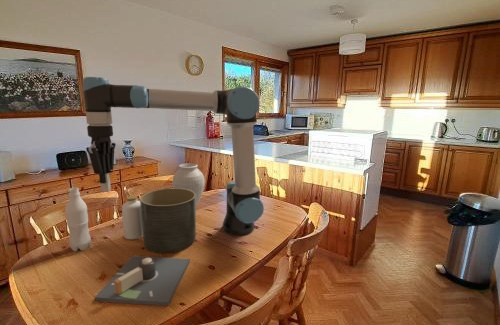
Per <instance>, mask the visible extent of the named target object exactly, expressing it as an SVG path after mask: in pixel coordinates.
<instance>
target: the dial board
mask: <svg viewBox="0 0 500 325" xmlns="http://www.w3.org/2000/svg"><path fill="white" fill-rule="evenodd" d="M145 258H152V259H154V260H155V268H156V275H155V276H154V277H153V278H152V279H149V280H142V281H140V282H138V283H137V284H135V285H134V286H132V287H130V288H129V289H127V290H125V291H124V292H122V293H121V294H117V293H116V292H115V284H114V280H116V279H118V278H119V277H121V276H123V275H125V274H127V273H128V272H130V271H132V270H134V269H136V268H137V267H139V262H140V261H141V260H143V259H145ZM190 263H191V259H190V258H177V257H175V258H174V257H163V256H162V257H161V256H144V255H143V256H141V255H132V256H131V257H130V258H128V260H127V261H126V262H125V263H124V264H123V265H122V267H121V268H120V269H119V270H117V272H116V273H115V274H114V275H113V277H111V279H110V280H109V281H108V282H107V283H106V284H105V285H104V286H103V287H102V289H101V290H100V291H99V292H98V293H97V294H96V295H95V297H94V301H95V302H105V303H107V302H108V303H120V304H121V303H123V304H133V305H134V304H135V305H149V306H163V305H164V306H166V307H168V306H169V305H170V303H171V301H172V299H173V297H174V295H175V293H176V291H177V289H178V288H179V285H180V283H181V281H182V279H183V277H184V274H185V273H186V271H187V269H188V267H189V265H190ZM164 306H163V307H164Z"/></svg>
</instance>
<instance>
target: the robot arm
mask: <svg viewBox="0 0 500 325" xmlns="http://www.w3.org/2000/svg"><path fill="white" fill-rule="evenodd" d="M82 93H83V100H84V110H85V119H86V124H87V127H86V128H87V130H86V131H87V136H88V137H90V138H91V141H90V144H91V145H90V147H88V146H87V147H86V148H85V150H86V152H87V154H88V156H89V159H90V163H91V167H92V171H93V174H95V175H98V176H99V185H100V191H101V193H102V192H105V193H109V192H111V191H112V186H111V175H110V173H113V170H114V166H115V165H114V164H115V163H114V162H115V149H116V145H117V144H116V143H115V142H112V139H111V137H113V136H114V130H113V128H114V127H113V126H112V124H113V118H112V117H113V116H112V115H113V114H112V108H122V109H123V108H127V109H157V110H158V109H161V110H180V111H182V110H183V111H185V110H187V111H203V112H204V111H205V112H207V111H208V112H213V113H214V114H216V115H217V114H219V115H225V116H226V124H227V125H228V126H229V127H230V129H231V130H230V131H231V141H232V143H231V144H232V157H233V159H232V160H233V171H234V172H233V173H234V180H233V181H228V182H227V184H226V189H225V191H226V213H225V216H224V219H223V221H222V230H223V231H224V232H225V233H227V234H229V235H234V236H235V235H236V236H243V235H249V234H250V233H252V232H253V231H254V230H255V222H257V221H258V220H259V219H260V218H261V217H262V216H263V214H264V210H265V209H264V208H265V207H264V204H263V201H262V200H261V188H260V186H258V185H257V184H256V183H257V181H256V163H255V161H256V160H255V140H254V126H255V125H256V123H258V122H257V121H258V119H257V117H258V116H257V113H258V112H259V109H260V104H261V103H260V97H259V95H258V94H257V93H256V91H255V90H253V89H252V88H251V87H248V86H244V85H243V86H242V85H240V86H235V87H233V88H229V89H227V90H226V89H224V90H219V89H218V90H214V91H213V92H210V91H209V92H206V91H189V90H176V89H175V90H173V89H159V88H158V89H157V88H147V87H146V86H144V85H137V84H134V85H133V84H131V85H128V84H126V85H125V84H111V83H110V82H109V79H108V78H106V77H99V76H85V77H83V79H82Z"/></svg>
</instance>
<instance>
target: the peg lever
mask: <svg viewBox="0 0 500 325" xmlns="http://www.w3.org/2000/svg"><path fill="white" fill-rule="evenodd" d="M155 275H156V268H155V260H154V259H152V258H145V259H143V260H141V261H140V262H139V267H137V268H136V269H134V270H132V271H130V272H128V273H127V274H125V275H123V276H121V277H119V278H118V279H116V280H114V284H115V292H116V293H117V294H121V293H122V292H124V291H125V290H127V289H129V288H130V287H132V286H134V285H135V284H137V283H138V282H140V281H142V280H149V279H152V278H153V277H154V276H155Z"/></svg>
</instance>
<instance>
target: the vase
mask: <svg viewBox="0 0 500 325" xmlns="http://www.w3.org/2000/svg"><path fill="white" fill-rule="evenodd" d="M198 166H199V165H198V164H196V163H192V162H190V163H185V162H184V163H180V164H179V165H178V167H179V168H178V170H176V172H175V173H174V174H173V176H172V181H171V182H172V188H181V189H188V190H191V191H193V192H194V193H195V194H196V207H197V205H198V204H199V202H200V200H201V198H202V196H203V193H204V189H205V184H206V182H205V176H204V174H203V172H202V171H201V170H200V169H199V168H198Z"/></svg>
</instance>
